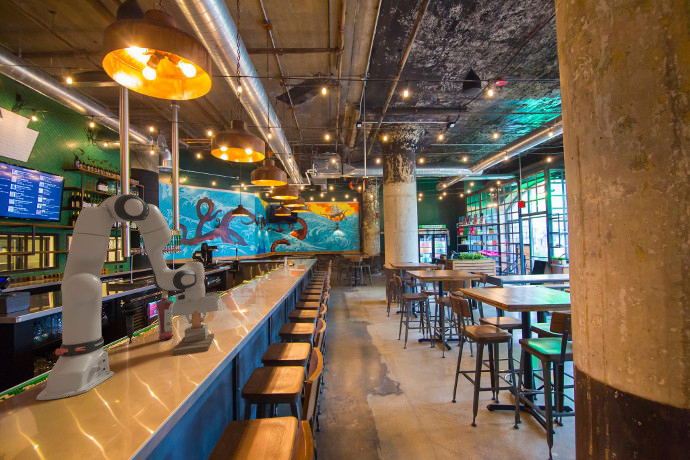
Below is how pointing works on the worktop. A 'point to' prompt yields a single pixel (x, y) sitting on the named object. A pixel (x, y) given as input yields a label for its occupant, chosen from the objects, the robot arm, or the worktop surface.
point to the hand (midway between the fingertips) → (196, 322)
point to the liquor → (165, 317)
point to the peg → (196, 320)
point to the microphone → (129, 318)
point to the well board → (194, 340)
